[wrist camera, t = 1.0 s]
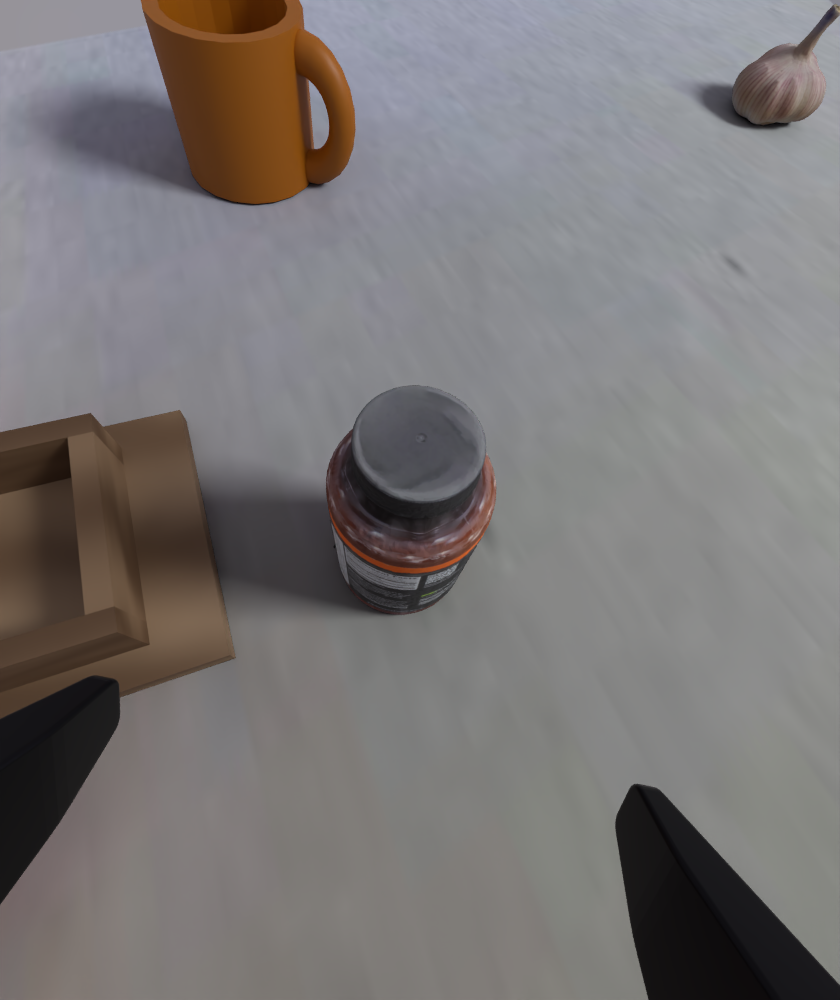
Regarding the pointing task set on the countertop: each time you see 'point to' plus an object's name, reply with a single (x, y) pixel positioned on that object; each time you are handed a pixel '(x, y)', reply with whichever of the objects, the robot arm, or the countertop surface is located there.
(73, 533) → the bottle stand
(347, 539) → the supplement bottle
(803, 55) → the garlic bulb
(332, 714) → the countertop surface
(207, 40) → the mug
